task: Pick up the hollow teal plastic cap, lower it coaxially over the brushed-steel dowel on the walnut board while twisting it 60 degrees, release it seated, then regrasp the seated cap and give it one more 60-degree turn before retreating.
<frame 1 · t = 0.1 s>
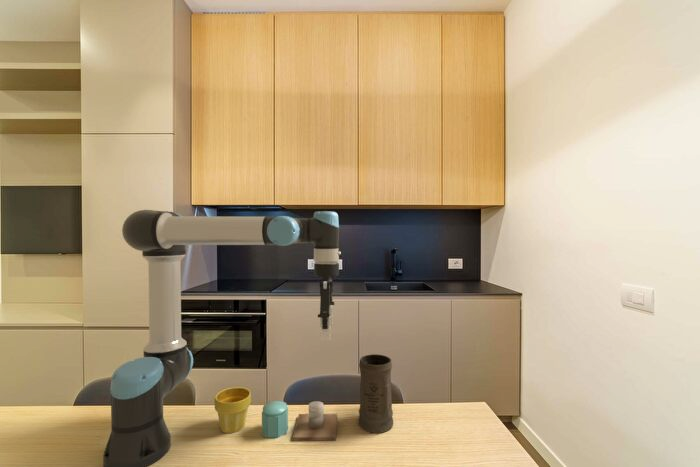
hand: (326, 332, 103), 28 cm above the table, fingers open, 13 cm apart
beer stein: (375, 419, 106), on the table
plant pot: (233, 427, 102), on the table
post block: (316, 428, 101), on the table
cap: (275, 430, 100), on the table
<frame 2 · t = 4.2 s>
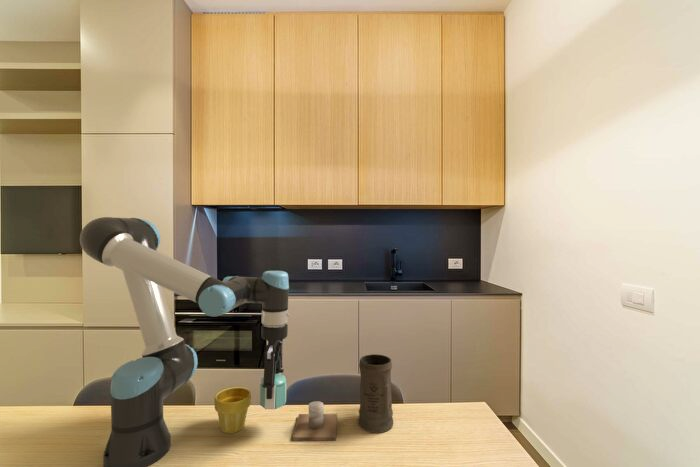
hand: (272, 401, 100), 9 cm above the table, fingers closed on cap, 7 cm apart
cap: (273, 402, 100), point 8 cm above the table, touching gripper
everything else where it was.
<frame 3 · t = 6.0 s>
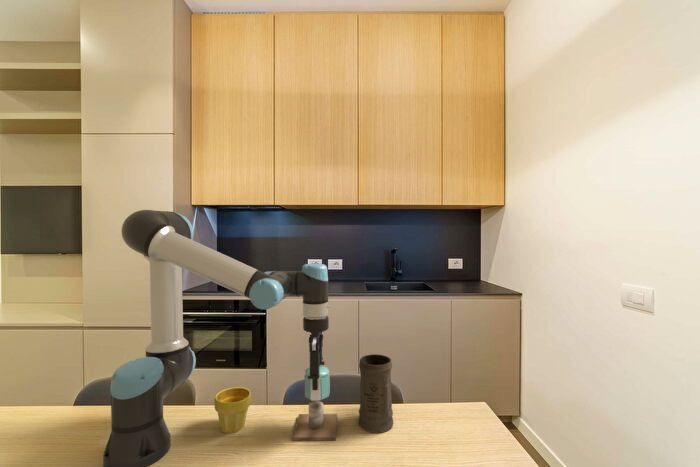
hand: (316, 393, 101), 10 cm above the table, fingers closed on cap, 7 cm apart
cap: (317, 394, 101), point 10 cm above the table, touching gripper
everything else where it was.
when the fingers open (2 cm above the table, at t = 8.2 s): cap stays where it is, resting on post block.
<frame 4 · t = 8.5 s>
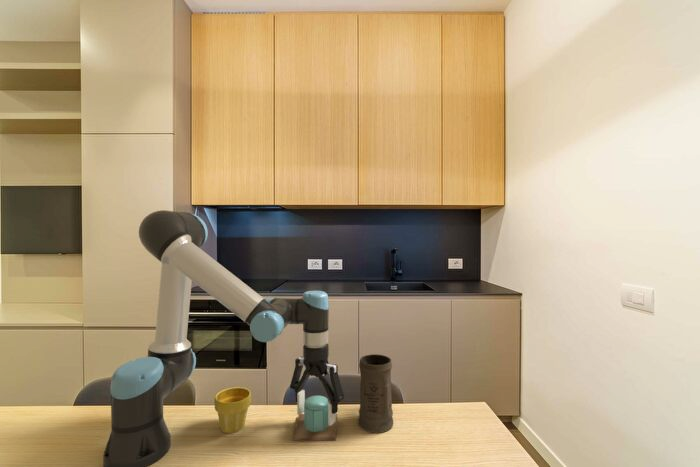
hand: (316, 417, 101), 3 cm above the table, fingers open, 10 cm apart
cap: (316, 424, 101), point 1 cm above the table, touching post block
everything else where it was.
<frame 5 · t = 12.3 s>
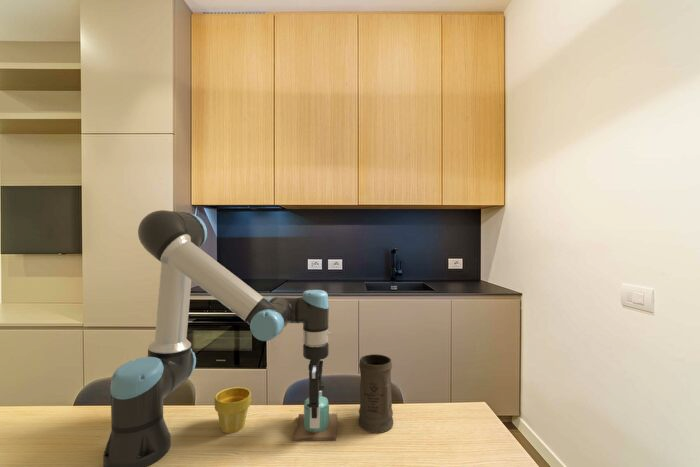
hand: (316, 419, 101), 3 cm above the table, fingers closed on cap, 7 cm apart
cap: (316, 424, 101), point 1 cm above the table, touching gripper, post block
everything else where it was.
when the fingers open (3 cm above the table, at t = 13.3 s): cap stays where it is, resting on post block.
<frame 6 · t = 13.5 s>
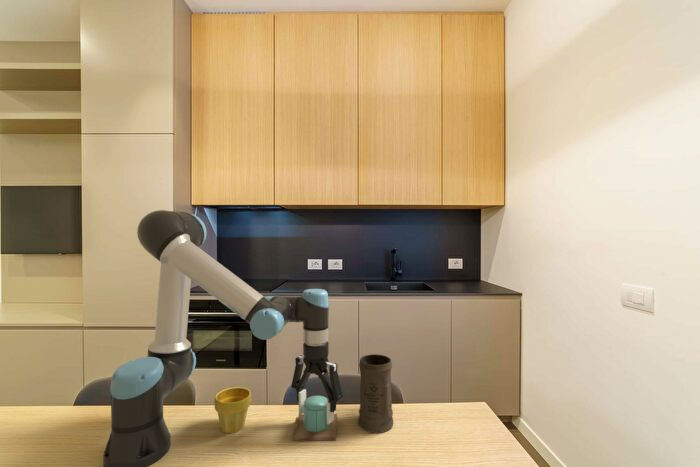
hand: (316, 416, 101), 3 cm above the table, fingers open, 9 cm apart
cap: (316, 424, 101), point 1 cm above the table, touching post block
everything else where it was.
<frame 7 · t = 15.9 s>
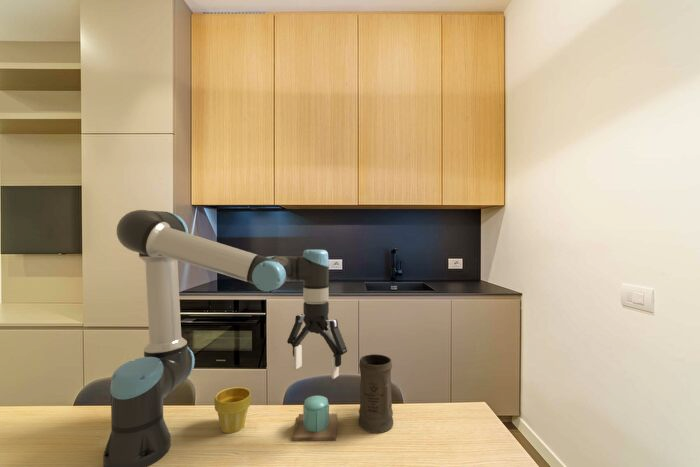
hand: (316, 372, 102), 16 cm above the table, fingers open, 13 cm apart
nothing on the table moved.
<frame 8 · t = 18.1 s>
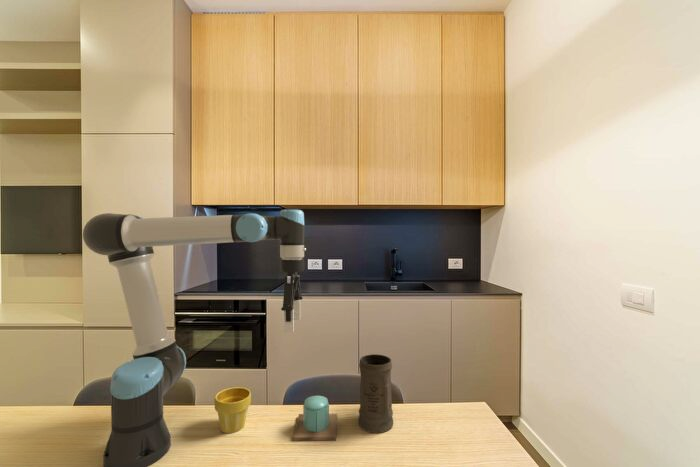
hand: (292, 325, 108), 29 cm above the table, fingers open, 13 cm apart
nothing on the table moved.
at the end: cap 0.1 cm off-centre on the post block, point 1.0 cm above the post block's base; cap tilted 0°; the gripper is holding nothing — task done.
